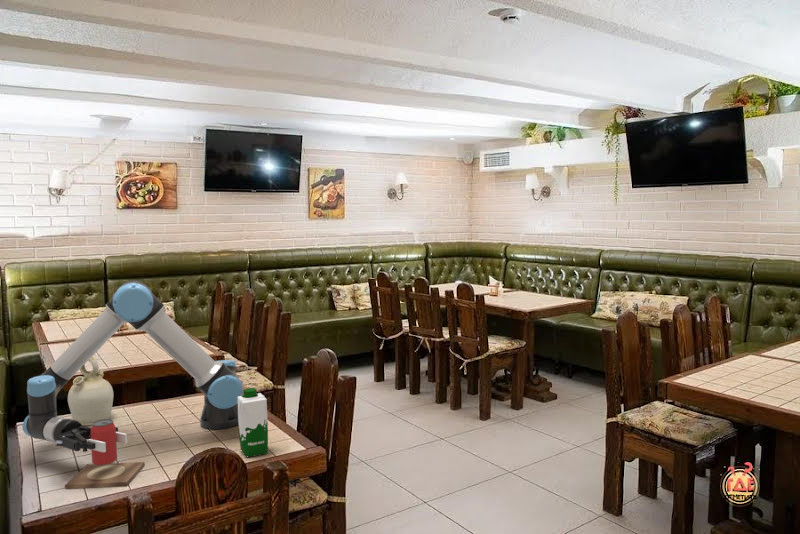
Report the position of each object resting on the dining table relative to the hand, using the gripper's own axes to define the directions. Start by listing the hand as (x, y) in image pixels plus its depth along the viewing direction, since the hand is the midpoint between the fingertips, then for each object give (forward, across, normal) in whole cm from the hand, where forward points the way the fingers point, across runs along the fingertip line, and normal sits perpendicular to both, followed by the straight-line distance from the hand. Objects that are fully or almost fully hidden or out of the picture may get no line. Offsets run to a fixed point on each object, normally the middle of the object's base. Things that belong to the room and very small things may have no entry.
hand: (115, 442), depth 173 cm
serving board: (-5, 0, -11) cm, 12 cm away
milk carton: (+23, -33, -11) cm, 41 cm away
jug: (-54, -32, -11) cm, 64 cm away
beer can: (-5, 0, -7) cm, 8 cm away
